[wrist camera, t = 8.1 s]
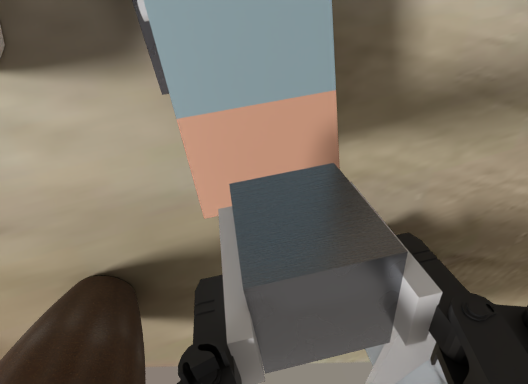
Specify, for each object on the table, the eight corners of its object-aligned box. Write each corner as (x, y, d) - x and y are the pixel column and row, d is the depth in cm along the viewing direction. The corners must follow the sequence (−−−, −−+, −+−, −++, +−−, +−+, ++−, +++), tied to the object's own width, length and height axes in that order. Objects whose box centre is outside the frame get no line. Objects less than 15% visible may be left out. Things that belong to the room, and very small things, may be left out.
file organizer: (386, 337, 56) (473, 496, 38) (227, 294, 41) (243, 518, 23) (499, 246, 46) (689, 400, 28) (344, 146, 32) (529, 333, 14)
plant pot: (37, 327, 38) (-52, 499, 25) (31, 243, 31) (-99, 419, 18) (156, 332, 43) (134, 478, 29) (173, 259, 36) (155, 408, 22)
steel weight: (229, 183, 13) (243, 289, 8) (333, 162, 14) (408, 251, 9) (247, 259, 16) (265, 373, 11) (333, 240, 16) (389, 342, 11)
